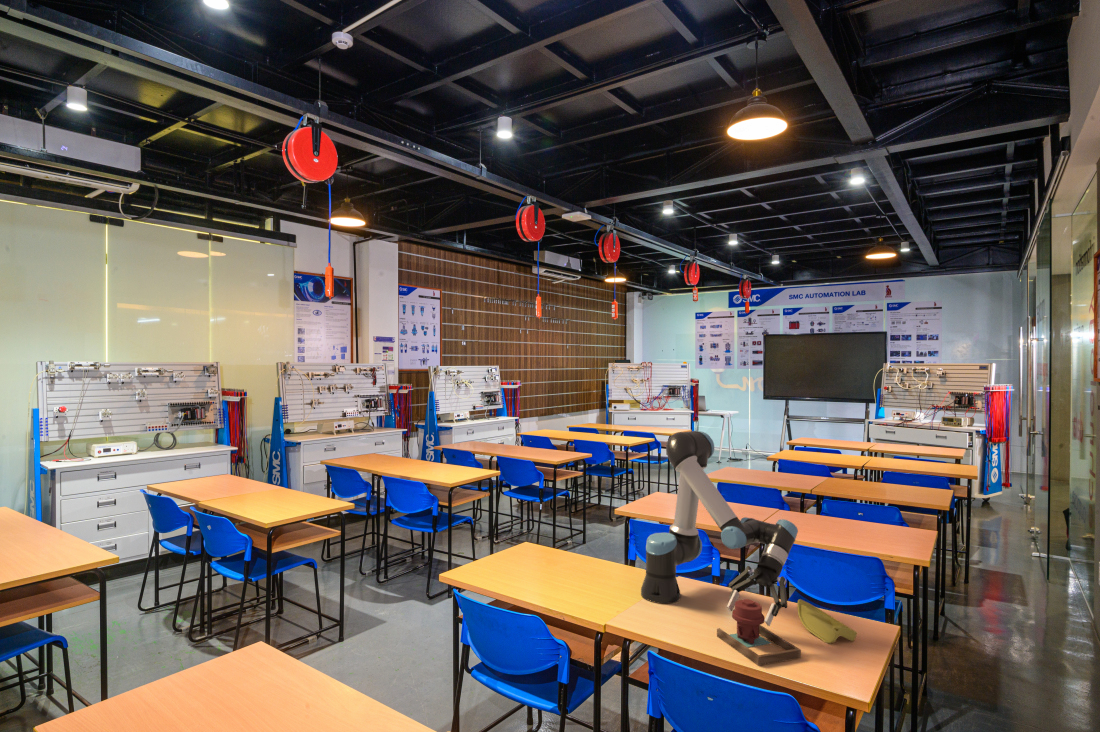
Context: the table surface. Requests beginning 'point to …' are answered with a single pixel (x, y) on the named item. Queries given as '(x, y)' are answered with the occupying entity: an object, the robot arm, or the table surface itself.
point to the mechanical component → (748, 619)
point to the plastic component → (823, 623)
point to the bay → (764, 659)
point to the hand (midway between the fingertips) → (747, 616)
